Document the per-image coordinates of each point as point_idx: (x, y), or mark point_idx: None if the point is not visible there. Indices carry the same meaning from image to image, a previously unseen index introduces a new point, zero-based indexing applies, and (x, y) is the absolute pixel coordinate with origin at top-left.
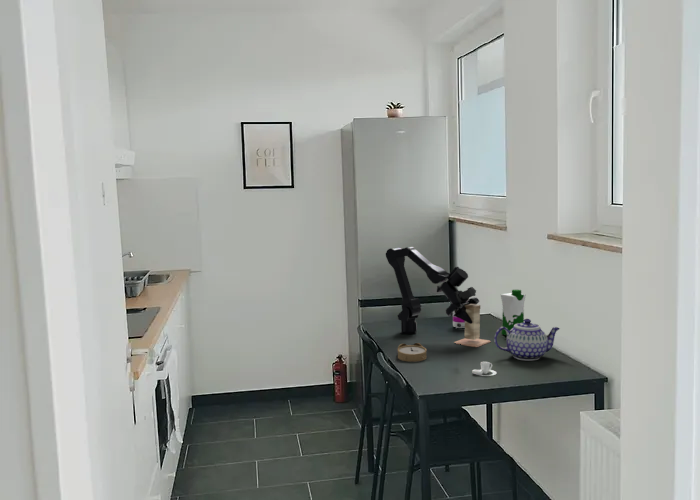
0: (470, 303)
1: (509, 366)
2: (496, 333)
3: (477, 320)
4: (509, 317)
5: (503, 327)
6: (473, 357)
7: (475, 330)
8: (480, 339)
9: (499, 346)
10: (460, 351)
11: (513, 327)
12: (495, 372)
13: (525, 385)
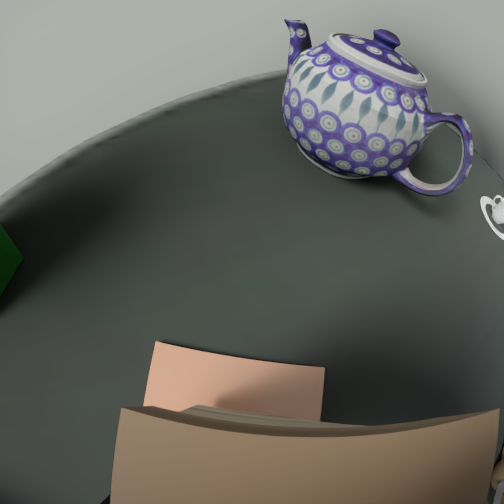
0: None
1: (438, 178)
2: (471, 159)
3: (245, 418)
4: None
5: (463, 118)
6: (453, 296)
7: (268, 416)
8: None
9: (433, 185)
10: (424, 391)
11: (411, 91)
12: (483, 198)
13: (475, 151)
